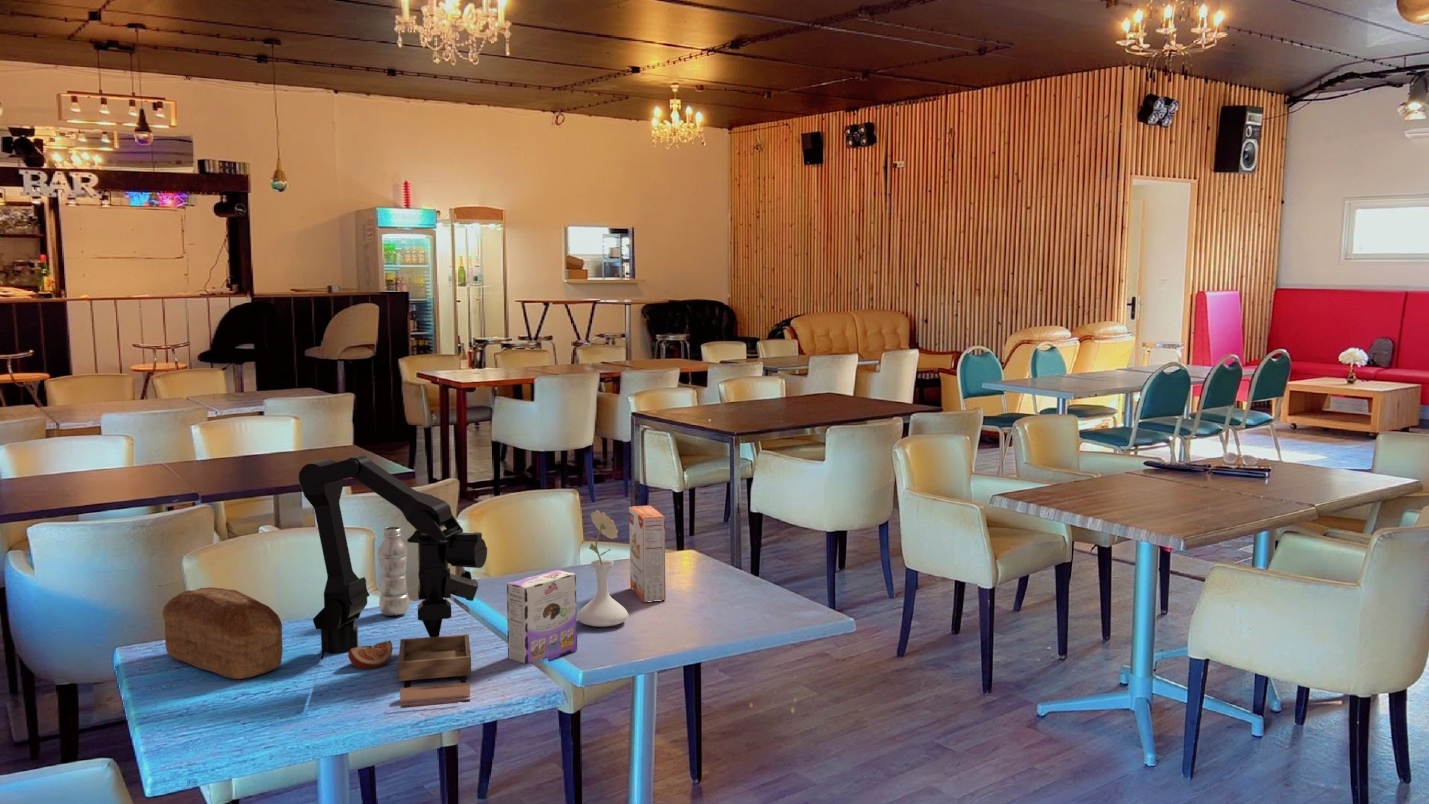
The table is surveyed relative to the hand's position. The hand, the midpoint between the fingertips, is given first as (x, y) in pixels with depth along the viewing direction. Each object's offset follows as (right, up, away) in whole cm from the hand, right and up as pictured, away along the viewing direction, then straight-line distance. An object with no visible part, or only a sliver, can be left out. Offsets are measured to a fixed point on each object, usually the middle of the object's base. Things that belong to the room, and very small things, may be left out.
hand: (435, 641), depth 211 cm
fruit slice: (-11, -5, -4) cm, 13 cm away
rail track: (+2, -5, -8) cm, 10 cm away
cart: (+2, -4, -7) cm, 9 cm away
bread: (-41, -4, -1) cm, 42 cm away
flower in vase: (+30, -2, +27) cm, 40 cm away
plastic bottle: (-18, -1, +32) cm, 36 cm away
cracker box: (+39, 0, +48) cm, 62 cm away
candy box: (+21, -4, +4) cm, 22 cm away
